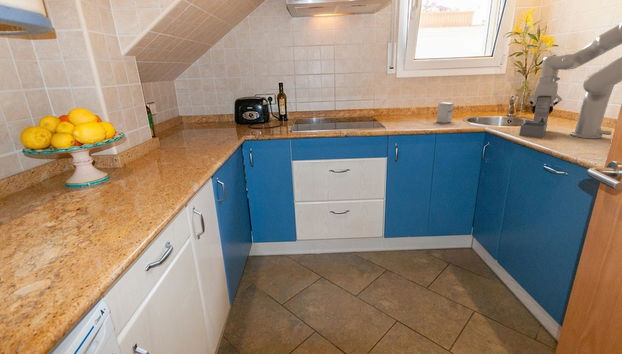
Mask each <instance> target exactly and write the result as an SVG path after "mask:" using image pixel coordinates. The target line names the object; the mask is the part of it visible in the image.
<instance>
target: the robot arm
mask: <svg viewBox="0 0 622 354" xmlns="http://www.w3.org/2000/svg"><path fill="white" fill-rule="evenodd" d="M620 45H622V21H621V22H620V24H618V25H615V26H614V27H613V28H611V29H609V30H607V31H605V32H604V33H602V34H600V35H598V36H597V37H595V39H593V41H592V42H590V43H589V44H587V46H585V47H583V48H582V49H579V50H578V51H575V52H574V53H571V54H562V55H548V56H545V57H543V59H542V63H541V69H540V74H539V75H540V76H539V81H538V82H537V83H536V86H535V88H534V92H533V94H532V95H531V96H529V97H528V98H526V100H527V101H528V103H529V104H530V105H531V106H532V107H531V112H532V114H535V108H536V102H537V97H538V96H552V97H551V104H550V109H549V115H551V113H553V111H554V106H556V105H558V104H559V103H560V102H561V101H562V100H563V98H562V97H561V96H560V95H559V94H558V89H559V87H558V85H559V83H558V82H557V81H560V80H561V77H558V74H559V70H563V71H568V70H574V69H577V68H580V67H582V66H583V65H584V64H587V63H589V62H590V61H592V60H594V59H596V58H598V57H600V56H602V55H603V54H605V53H608V52H609V51H611V50H612V49H615V48H617V47H619V46H620ZM621 82H622V57H618V58H617V59H615V60H613V61H611V62H610V63H608V64H607V65H605V66H603V67H601V68H600V69H598V70H597V71H594V72H593V73H592V74H590V75H588V76H587V77H586V78H585V80H584V82H583V87H582V88H583V89H584V91H585V94H584V98H583V100H582V104H581V107H580V110H579V111H580V112H579V115H578V119H577V122H576V125H575V129H574V131H572V132H570V136H572V137H575V138H576V137H577V138H582V139H591V140H592V139H593V140H594V139H595V140H596V139H602V137H603V135H606V136H611V135H612V133H613V132H612V131H611V130H604V129H602V128H601V127H602V124H603V122H604V121H603V120H604V117H605V114H606V110H607V107H608V105H609V101H610V97H611V95H612V93H613V91H614V87H615V86H616V85H617V84H619V83H621ZM556 99H557V100H556Z"/></svg>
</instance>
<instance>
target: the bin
mask: <svg viewBox="0 0 622 354" xmlns="http://www.w3.org/2000/svg"><path fill="white" fill-rule="evenodd" d="M547 126H548V123H547V124H546V123H534V122H533V121H532V122H531V121H524V122H523V123H522V124H521V125H520V129H519V133H518V136H522V137H533V138H543V137H544V135H545V134H546V131H547V128H548V127H547Z"/></svg>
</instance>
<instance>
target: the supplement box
mask: <svg viewBox="0 0 622 354" xmlns="http://www.w3.org/2000/svg"><path fill="white" fill-rule="evenodd" d="M454 105H455V103H454V102H447V101H446V102H445V101H443V102H438V105H437V106H438V107H437V113H436V120H435V122H437V123H442V124H443V123H444V124H446V123H451V122H452V121H453V120H452V119H453V110H454Z"/></svg>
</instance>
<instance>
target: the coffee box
mask: <svg viewBox="0 0 622 354" xmlns="http://www.w3.org/2000/svg"><path fill="white" fill-rule="evenodd" d="M551 97H552V96H538V97H537V102H536V108H535V113H533V114H534V115H533V120H532V122H534V123H546V124H547V125H548V119H549V115H550V114H549V109H550V106H551Z"/></svg>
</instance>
